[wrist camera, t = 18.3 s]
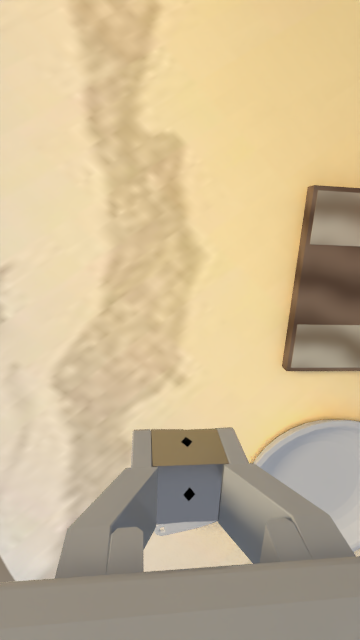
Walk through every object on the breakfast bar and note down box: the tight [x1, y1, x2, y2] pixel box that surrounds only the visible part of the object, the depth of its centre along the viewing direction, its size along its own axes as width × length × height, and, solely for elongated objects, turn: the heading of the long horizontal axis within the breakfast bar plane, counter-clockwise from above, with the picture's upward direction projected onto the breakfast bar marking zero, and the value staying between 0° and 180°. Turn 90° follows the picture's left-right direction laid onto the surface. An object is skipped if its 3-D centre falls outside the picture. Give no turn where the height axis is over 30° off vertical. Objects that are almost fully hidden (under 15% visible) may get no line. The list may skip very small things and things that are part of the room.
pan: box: [154, 420, 360, 552], centre depth 49 cm, size 26×39×5 cm
